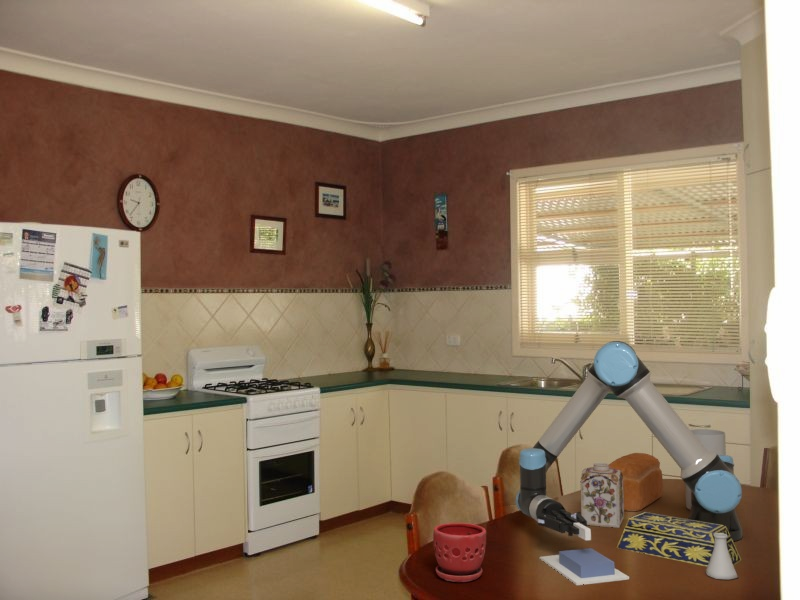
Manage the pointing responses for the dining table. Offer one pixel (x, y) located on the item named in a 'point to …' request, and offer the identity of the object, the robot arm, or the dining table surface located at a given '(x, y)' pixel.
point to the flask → (720, 560)
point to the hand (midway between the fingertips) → (588, 534)
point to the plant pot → (459, 551)
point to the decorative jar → (602, 496)
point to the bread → (639, 479)
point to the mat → (554, 563)
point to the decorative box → (674, 538)
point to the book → (586, 563)
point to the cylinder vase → (708, 449)
